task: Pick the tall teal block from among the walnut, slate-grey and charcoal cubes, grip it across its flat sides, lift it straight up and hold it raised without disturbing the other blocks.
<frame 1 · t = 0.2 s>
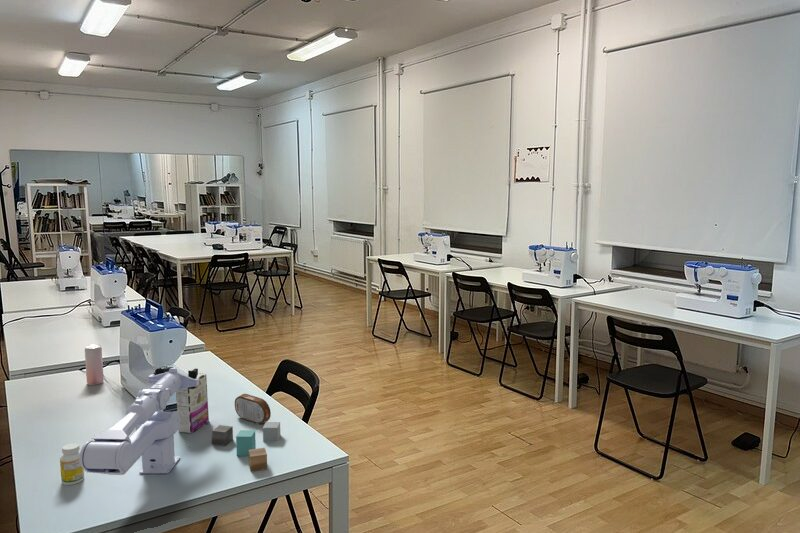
hand: (184, 370, 183), 21 cm above the table, tool horizontal, fingers open, 7 cm apart
charcoal block: (222, 442, 182), on the table
walnut block: (258, 467, 166), on the table
teal block: (246, 452, 175), on the table
slate-grey block: (271, 438, 185), on the table
candy bar box: (193, 426, 194), on the table
tin: (252, 421, 199), on the table
supplement bottle: (73, 481, 158), on the table
beverage can: (95, 383, 235), on the table
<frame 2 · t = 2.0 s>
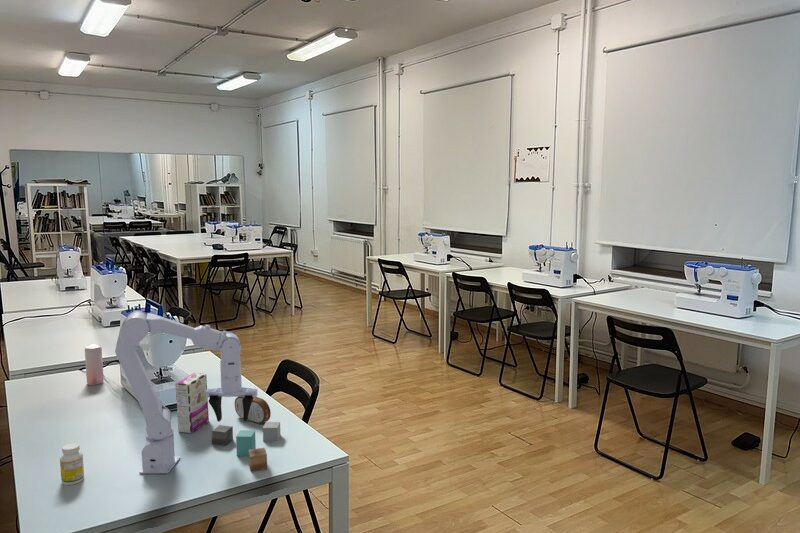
hand: (232, 420, 173), 11 cm above the table, tool pointing down, fingers open, 7 cm apart
nothing on the table moved.
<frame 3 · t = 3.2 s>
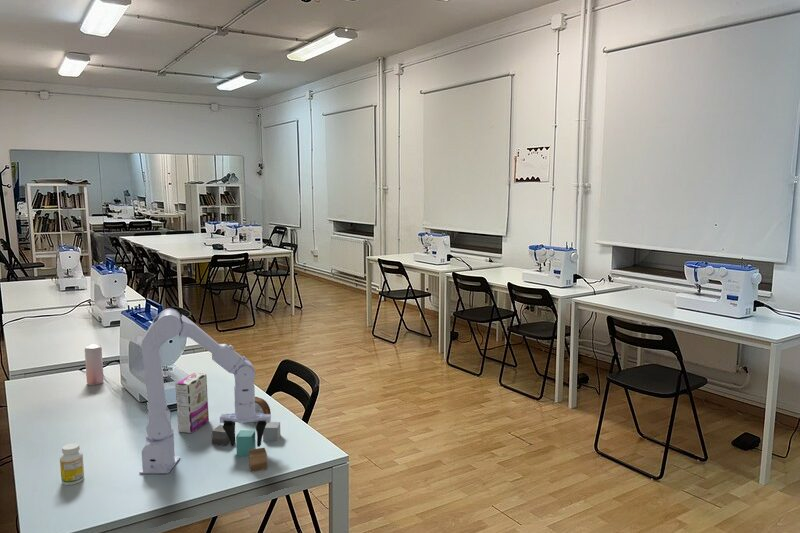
hand: (246, 445, 175), 2 cm above the table, tool pointing down, fingers open, 7 cm apart
nothing on the table moved.
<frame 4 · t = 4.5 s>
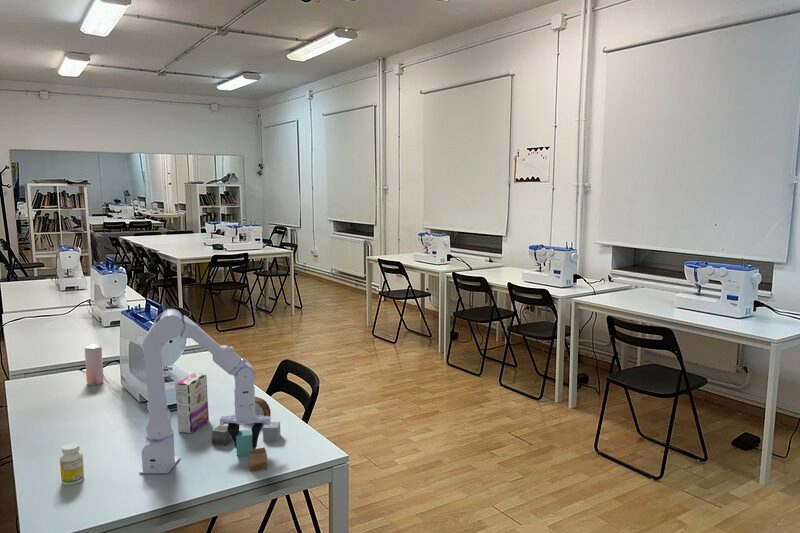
hand: (246, 447, 175), 2 cm above the table, tool pointing down, fingers closed on teal block, 4 cm apart
teal block: (246, 452, 175), on the table, touching gripper
everything else where it was.
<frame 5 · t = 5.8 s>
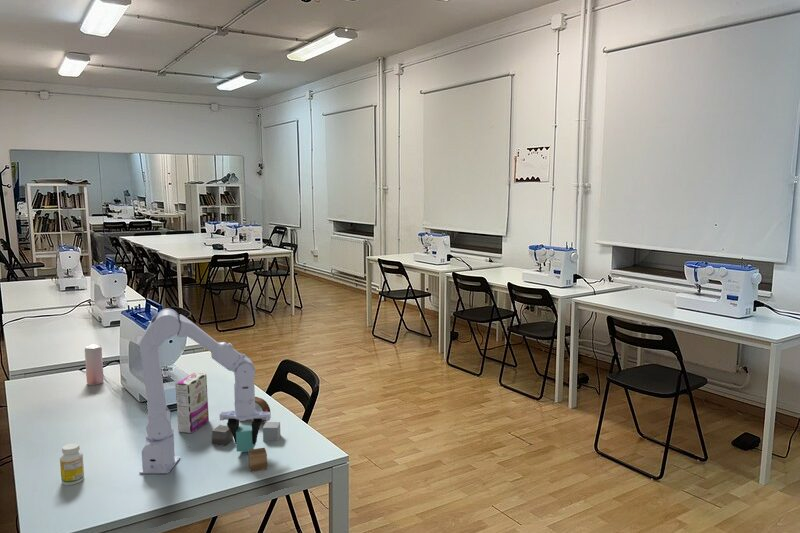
hand: (246, 442, 175), 3 cm above the table, tool pointing down, fingers closed on teal block, 4 cm apart
teal block: (246, 448, 175), point 1 cm above the table, touching gripper
everything else where it was.
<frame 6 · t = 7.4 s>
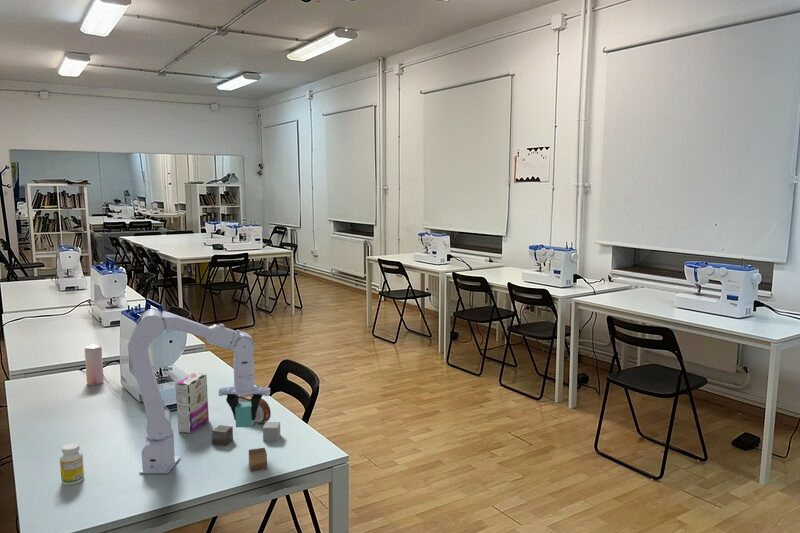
hand: (245, 418, 174), 10 cm above the table, tool pointing down, fingers closed on teal block, 4 cm apart
teal block: (245, 424, 174), point 9 cm above the table, touching gripper
everything else where it was.
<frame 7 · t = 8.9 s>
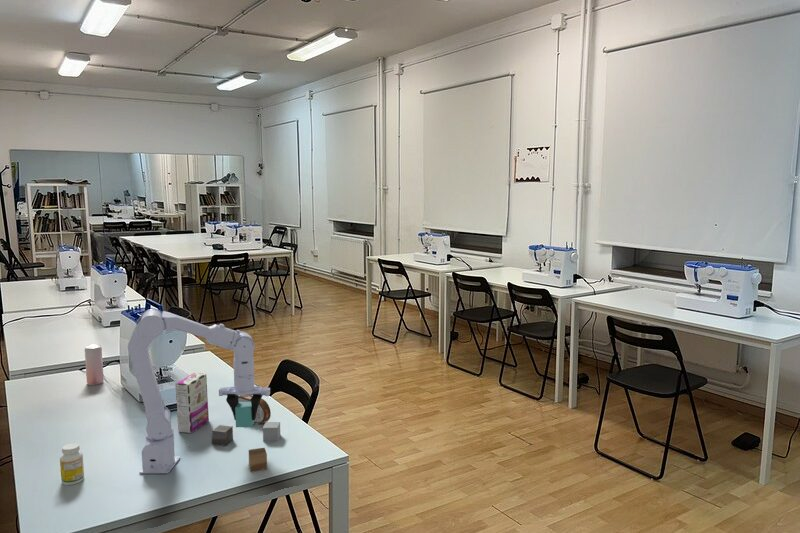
hand: (245, 418, 174), 10 cm above the table, tool pointing down, fingers closed on teal block, 4 cm apart
teal block: (245, 424, 174), point 9 cm above the table, touching gripper
everything else where it was.
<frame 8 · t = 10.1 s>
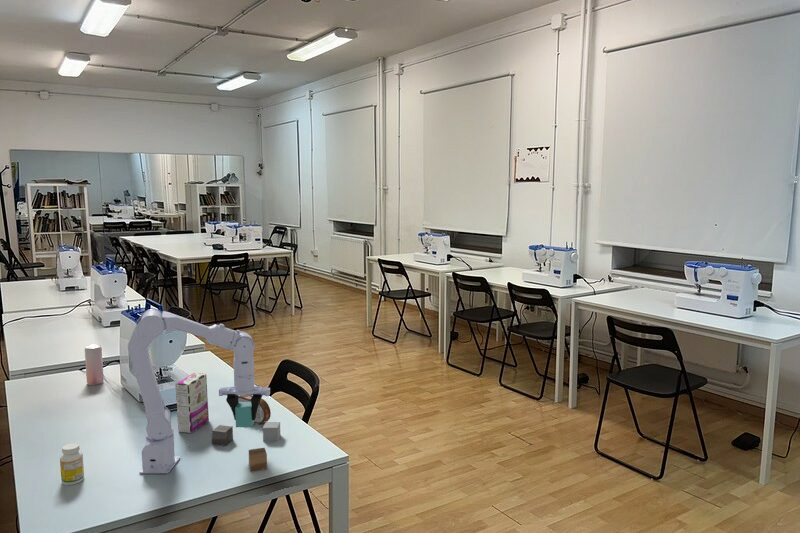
hand: (245, 418, 174), 10 cm above the table, tool pointing down, fingers closed on teal block, 4 cm apart
teal block: (245, 424, 174), point 9 cm above the table, touching gripper
everything else where it was.
at the end: the gripper is holding teal block; teal block point 8.8 cm above the table; walnut block moved 0.1 cm from its start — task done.
